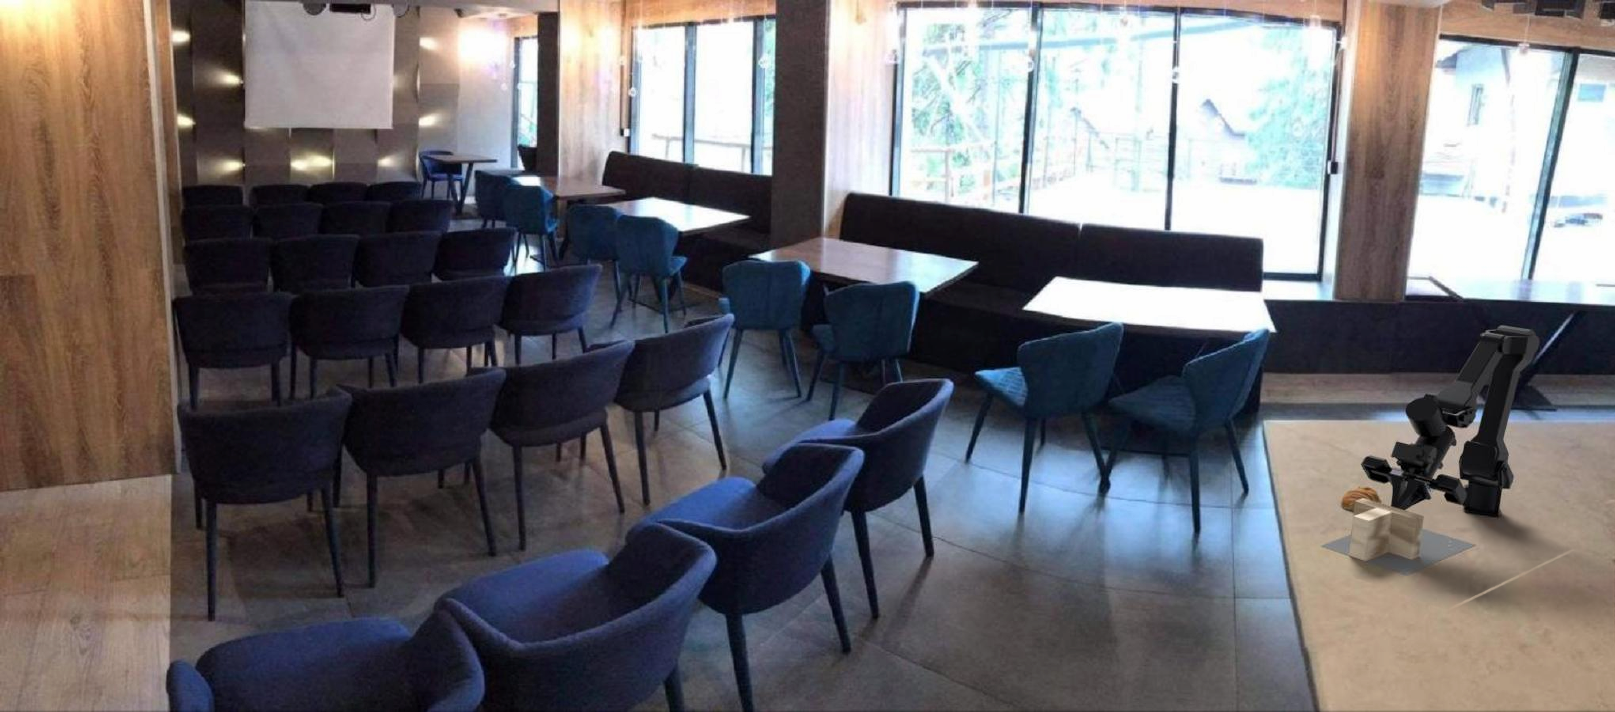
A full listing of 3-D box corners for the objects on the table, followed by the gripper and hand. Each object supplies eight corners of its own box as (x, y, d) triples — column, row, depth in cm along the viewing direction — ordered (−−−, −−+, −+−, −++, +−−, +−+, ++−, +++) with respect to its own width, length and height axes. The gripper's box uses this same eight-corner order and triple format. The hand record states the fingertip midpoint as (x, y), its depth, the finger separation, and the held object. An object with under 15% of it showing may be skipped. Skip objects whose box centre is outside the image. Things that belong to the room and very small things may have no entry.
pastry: (1364, 517, 244) (1366, 499, 243) (1332, 509, 249) (1333, 492, 248) (1382, 506, 250) (1384, 489, 249) (1351, 498, 255) (1352, 482, 254)
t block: (1359, 536, 231) (1363, 498, 230) (1418, 555, 222) (1423, 515, 220) (1327, 548, 225) (1331, 509, 223) (1387, 568, 216) (1392, 528, 214)
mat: (1391, 521, 241) (1391, 519, 241) (1475, 546, 227) (1476, 544, 227) (1320, 547, 227) (1320, 545, 226) (1405, 577, 213) (1406, 574, 213)
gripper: (1371, 416, 232) (1334, 478, 228) (1467, 438, 217) (1428, 505, 213) (1388, 447, 238) (1352, 508, 234) (1482, 471, 223) (1445, 537, 219)
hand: (1392, 514), depth 225 cm, fingers closed, pressing on t block
